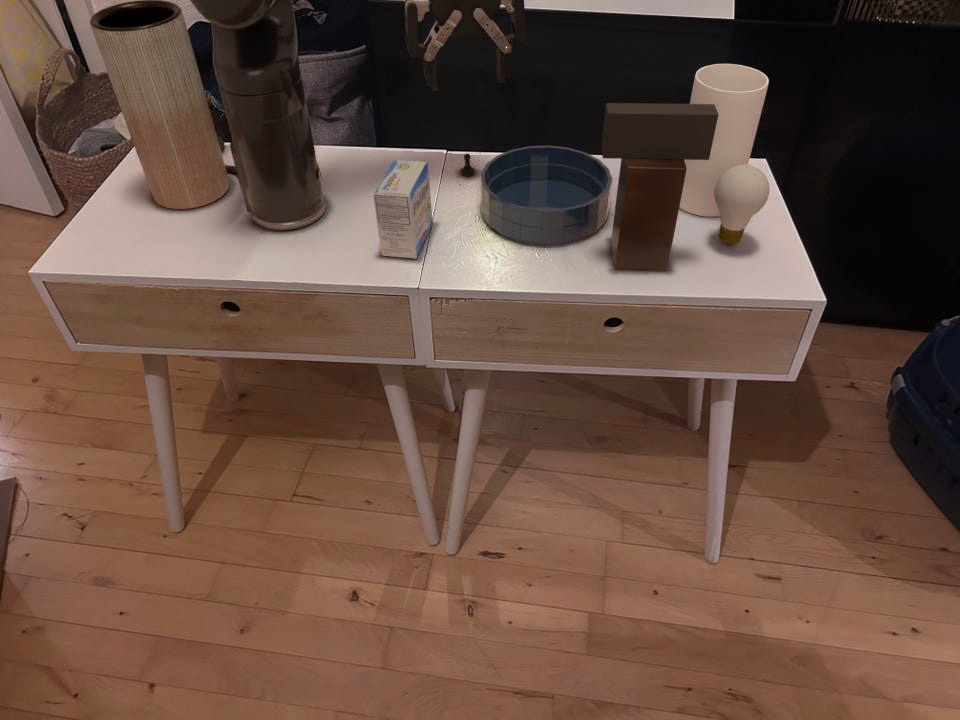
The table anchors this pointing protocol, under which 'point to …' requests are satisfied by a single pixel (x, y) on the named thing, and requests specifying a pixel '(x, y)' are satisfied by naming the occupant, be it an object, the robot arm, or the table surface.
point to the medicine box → (403, 208)
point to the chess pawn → (467, 167)
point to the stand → (646, 213)
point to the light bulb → (739, 200)
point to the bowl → (545, 194)
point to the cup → (723, 129)
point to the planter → (162, 101)
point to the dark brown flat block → (658, 131)
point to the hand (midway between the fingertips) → (467, 84)
